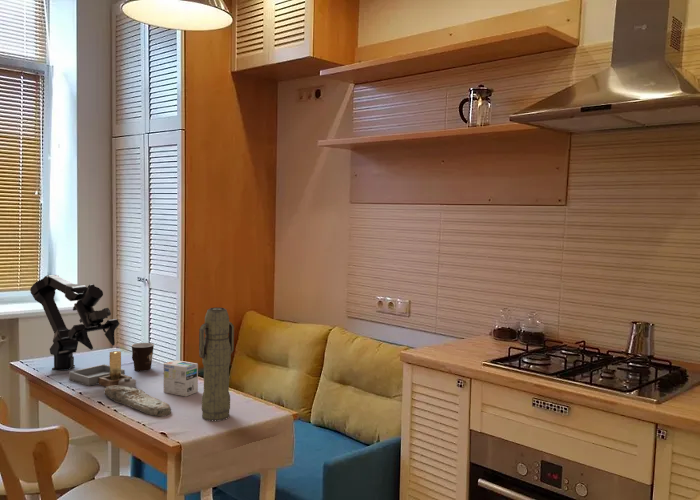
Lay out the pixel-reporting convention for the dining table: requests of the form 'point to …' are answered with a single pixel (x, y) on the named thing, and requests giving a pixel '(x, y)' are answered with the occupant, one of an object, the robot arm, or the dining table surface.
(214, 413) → the headless robed statue
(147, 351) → the coffee mug
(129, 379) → the brown frame
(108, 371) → the tray
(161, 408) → the elongated rock
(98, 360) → the dining table surface
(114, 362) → the pin
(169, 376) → the light bulb box
